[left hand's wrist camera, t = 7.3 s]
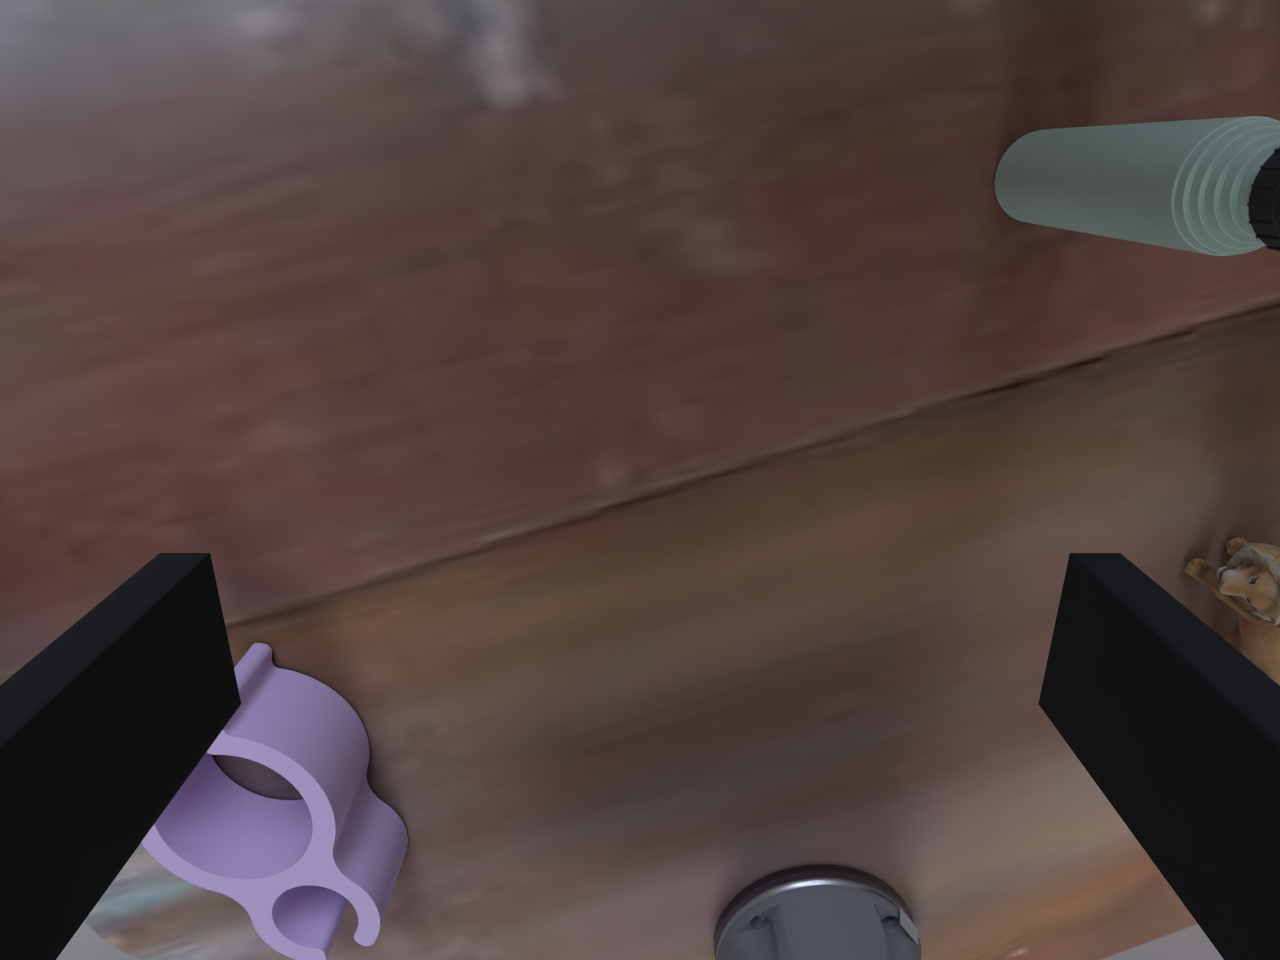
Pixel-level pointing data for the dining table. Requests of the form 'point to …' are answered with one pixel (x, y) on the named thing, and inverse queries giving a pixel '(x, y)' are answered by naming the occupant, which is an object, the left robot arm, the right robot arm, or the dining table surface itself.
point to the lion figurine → (1250, 597)
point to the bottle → (1142, 181)
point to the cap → (1266, 202)
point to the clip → (288, 816)
